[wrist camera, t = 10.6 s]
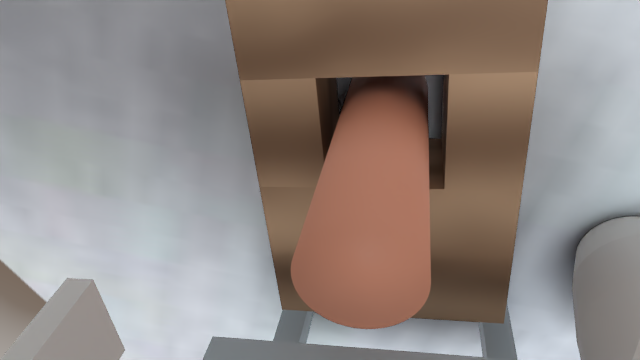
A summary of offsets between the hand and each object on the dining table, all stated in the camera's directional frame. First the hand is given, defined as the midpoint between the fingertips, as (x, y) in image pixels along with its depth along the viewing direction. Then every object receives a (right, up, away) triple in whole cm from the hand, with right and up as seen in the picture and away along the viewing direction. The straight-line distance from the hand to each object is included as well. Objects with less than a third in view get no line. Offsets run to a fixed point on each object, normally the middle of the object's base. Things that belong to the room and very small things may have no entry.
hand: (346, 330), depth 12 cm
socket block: (+3, +7, +15) cm, 16 cm away
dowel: (+3, +8, +14) cm, 16 cm away
